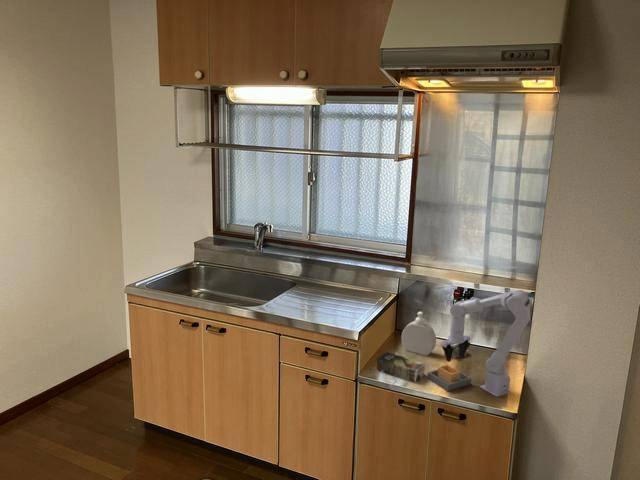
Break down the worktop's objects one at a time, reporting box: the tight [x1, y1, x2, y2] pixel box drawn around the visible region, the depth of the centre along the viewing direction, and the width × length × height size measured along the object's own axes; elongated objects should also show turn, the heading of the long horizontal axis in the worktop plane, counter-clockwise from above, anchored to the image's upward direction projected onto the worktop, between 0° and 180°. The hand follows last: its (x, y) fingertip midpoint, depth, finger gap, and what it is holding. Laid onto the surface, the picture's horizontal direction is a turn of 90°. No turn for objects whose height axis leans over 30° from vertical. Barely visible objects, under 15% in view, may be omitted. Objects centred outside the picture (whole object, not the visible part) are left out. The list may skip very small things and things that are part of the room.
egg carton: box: [443, 344, 469, 360], centre depth 265 cm, size 11×8×4 cm
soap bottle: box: [400, 311, 437, 357], centre depth 265 cm, size 16×5×20 cm, turn 58°
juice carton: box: [376, 352, 426, 383], centre depth 245 cm, size 20×10×6 cm, turn 55°
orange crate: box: [437, 364, 461, 384], centre depth 238 cm, size 8×5×5 cm, turn 31°
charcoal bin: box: [426, 367, 472, 393], centre depth 238 cm, size 13×13×3 cm
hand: (454, 358), depth 240 cm, fingers open, 7 cm apart
